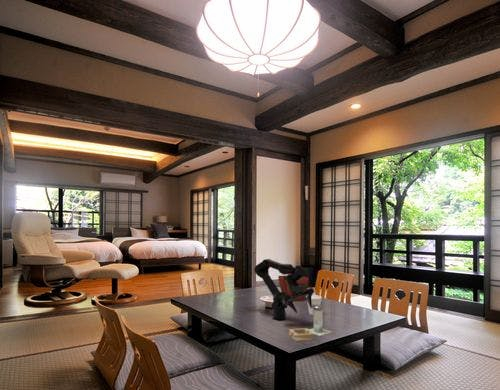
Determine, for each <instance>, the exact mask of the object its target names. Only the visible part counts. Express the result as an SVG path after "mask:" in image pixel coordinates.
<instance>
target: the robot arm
mask: <svg viewBox="0 0 500 390" xmlns="http://www.w3.org/2000/svg"><path fill="white" fill-rule="evenodd" d="M270 268H272V269H274V270H277V271H278V272H279V273H280V274H281V275H282V276H284V279H283V280H284V281H285V280H286V281H287V283H288V286H289V289H290V290H291V293H292V296H290V295H287V296H286V294H285V292H281V290H279V288H278V286H277V285H276V283H275V282H274V281H273V278H271V276H270V274H269V273H270V271H269V269H270ZM253 271H254V273H255V275H256V276H258V277H259V278H261V279H262V281H263V283H264V284H265V285H266V287H267V289H268V290H269V291H270V293H271V295H272V301H273V302H272V303H271V309H272V310H273V317H272V320H276V321H283V320H286V319H287V314H286V313H287V311H286V309H287V308H288V306H289V308H290V309H292V311H293V312H295V314H298V311H297V308H296V307H295V304H294V301H292V299H295V298H298V297H301V296H304V295H305V299H306V302H307V301H308V303H309V306H310V307H311V308H312V302H311V296H312V295H314V293H315V292H316V291H315V289H314V288H313V287H309V288H308V287H306V284H305V283H301V285H300V284H299V283H298V282H297V281H299V280H300V279H302V278H303V277H306V271H305V269H304V268H302V267H301V266H300V265H297V266H293V264H290V263H281V262H278V261H275V260H272V259H269V258H266V259H263V260H262V261H261V262H259V263H258V264H257V265H255V266H254V270H253ZM286 275H287V276H286ZM306 288H307V289H306ZM304 289H306V291H305V290H304ZM303 291H305V292H303ZM306 296H307V297H306ZM308 303H307V304H308Z"/></svg>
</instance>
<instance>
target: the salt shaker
mask: <svg viewBox="0 0 500 390" xmlns="http://www.w3.org/2000/svg"><path fill="white" fill-rule="evenodd" d="M312 308H313V315H312V317H313V319H312V320H313V321H312V322H313V325H312V326H313V328H314V332H317V333H321V332H323V329H324V316H323V315H324V314H323V311H324V305H321V304H320V305H312Z"/></svg>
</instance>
